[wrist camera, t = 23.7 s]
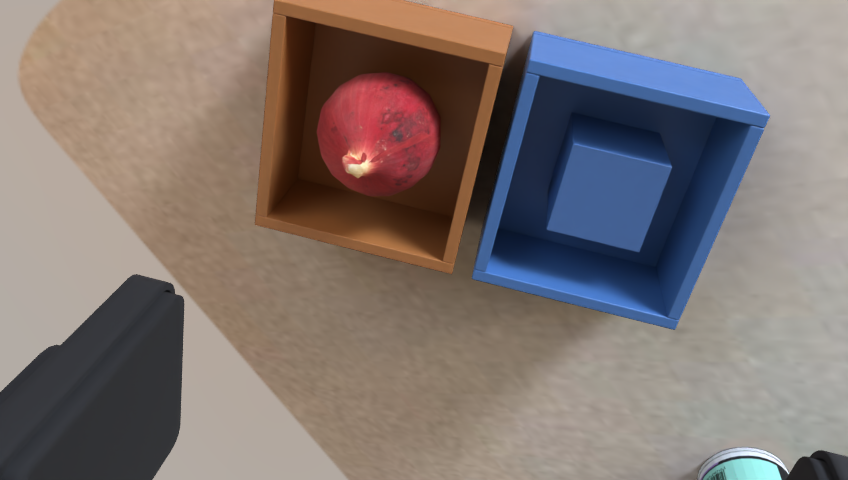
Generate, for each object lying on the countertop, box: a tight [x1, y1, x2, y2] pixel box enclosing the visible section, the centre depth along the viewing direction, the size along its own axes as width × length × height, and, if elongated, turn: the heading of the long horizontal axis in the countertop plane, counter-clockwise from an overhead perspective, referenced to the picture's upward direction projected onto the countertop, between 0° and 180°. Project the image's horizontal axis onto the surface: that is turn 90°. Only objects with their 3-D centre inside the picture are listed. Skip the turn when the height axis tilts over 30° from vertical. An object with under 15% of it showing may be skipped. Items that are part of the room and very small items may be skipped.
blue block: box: [546, 113, 672, 252], centre depth 36 cm, size 4×4×4 cm
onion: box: [317, 72, 441, 196], centre depth 35 cm, size 6×6×8 cm
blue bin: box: [472, 31, 770, 330], centre depth 36 cm, size 11×10×6 cm
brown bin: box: [255, 0, 513, 274], centre depth 36 cm, size 11×10×6 cm
